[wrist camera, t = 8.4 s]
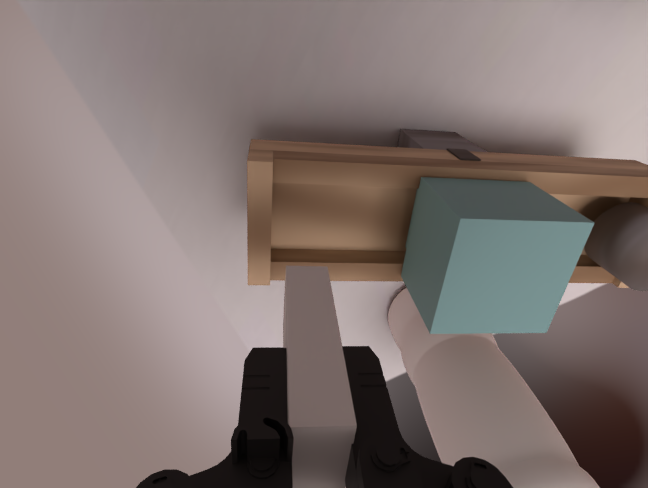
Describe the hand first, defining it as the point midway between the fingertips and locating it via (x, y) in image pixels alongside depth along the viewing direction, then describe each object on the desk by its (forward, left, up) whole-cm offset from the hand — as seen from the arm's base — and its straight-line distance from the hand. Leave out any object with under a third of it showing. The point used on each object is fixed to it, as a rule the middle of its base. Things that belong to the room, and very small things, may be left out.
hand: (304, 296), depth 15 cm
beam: (0, +10, -16) cm, 18 cm away
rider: (0, +9, -8) cm, 12 cm away
